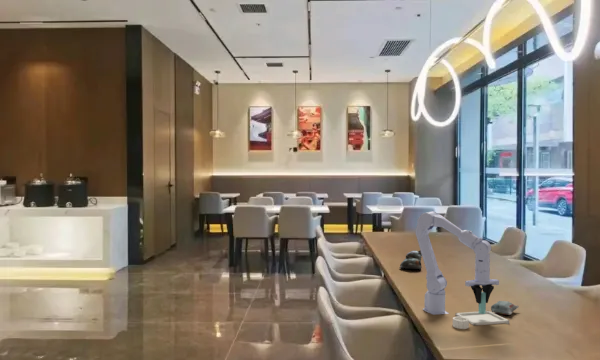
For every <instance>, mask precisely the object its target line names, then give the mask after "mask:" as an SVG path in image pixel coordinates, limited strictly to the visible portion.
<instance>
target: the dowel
mask: <svg viewBox="0 0 600 360" xmlns="http://www.w3.org/2000/svg"><path fill="white" fill-rule="evenodd" d="M486 305H487V303H486V293H485V292H483V291H482V293H481V303H480V304H479V303H478V311H477V312H478V313H480V314H486V311H487V309H486V308H487V306H486Z"/></svg>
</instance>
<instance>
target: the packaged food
mask: <svg viewBox="0 0 600 360" xmlns="http://www.w3.org/2000/svg"><path fill="white" fill-rule="evenodd" d="M518 308H519V305H515V304H514V303H512V302H510V301H506V300H498V301H497V302H495V303H493V304H492V305H491V307H490V312H492V313H494V314H496V315H504V316H505V315H506V316H510V315H512V314H513V312H514V311H516V310H518Z"/></svg>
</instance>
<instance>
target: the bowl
mask: <svg viewBox="0 0 600 360" xmlns="http://www.w3.org/2000/svg"><path fill="white" fill-rule="evenodd" d="M469 327H470V323H469V319H468V318H465V317H457V316H453V317H452V328H455V329H458V330H459V329H460V330H466V329H469Z"/></svg>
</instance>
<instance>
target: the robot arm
mask: <svg viewBox="0 0 600 360" xmlns="http://www.w3.org/2000/svg"><path fill="white" fill-rule="evenodd" d="M416 223H417V224H416V228H415V237H416V239H417V244H418V246H419V249H420V250H421V254H422V257H421V258H422V261H423V263H424V266H425V270H426V276H425V279H426V290H427V291H426V292H425V293H424V308H422V310H423V311H425V312H427V313H428V314H430V315H447V314H448V315H449V314H450V313H449V312H447V310H446V290H445V289H446V288H447V286H448V281H447V279H446V277H444V274H443V272H442V271H441V270H440V268H439V265H438V262H437V258H436V255H435V252H434V249H433V245H432V242H431V240H430V235H429V234H430V232H431V230H432V229H433V228H436V227H437V228H438V227H439V228H443V229H444V230H446V231H448V232H449V233H451V234H453V235H454V236H456V237H457V238H458V241H459V242H460V243H462V244H463V245H464V246H466V247H468V248H469V249H471V250H473V252H474V254H475V257H474V258H475V259H474V264H475V265H474V273H475V274H474V279H471V280H470V279H469V280H465V281H464V282H465V287H468V288H469V287H470V288H471V290H472V292H473V294H474V298H475V301H476V303H477V304H478V305H479V304H480V303H481V293H482V292H485V293H486V304H488V303H489V300H490V296H491V294H492V292H493V291H494V288H495V287H494V285H496V286H499V285H500V280H499V279H495V278H494V279H491V277H490V276H491V275H490V274H491V273H490V270H491V266H490V265H491V264H490V263H491V259H490V258H491V257H490V254H491V253H490V252H491V251H492V245H491V243H490V242H489V241H488V240H486V239H483V237H479V236H477V235H476V234H474V233H473V231H472V230H469V229H464V230H462V229H461V228H460V227H458V226H457V225H455V224H454V223H453V222H451V221H450V220H449V219H447V218H445V216H443V215H441V213H440V214H439V213H437V212H436V211H433V210H432V211H428V212H423V213H421V214H420V215H419V217H418V218H417V219H416ZM420 250H419V251H420Z"/></svg>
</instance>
